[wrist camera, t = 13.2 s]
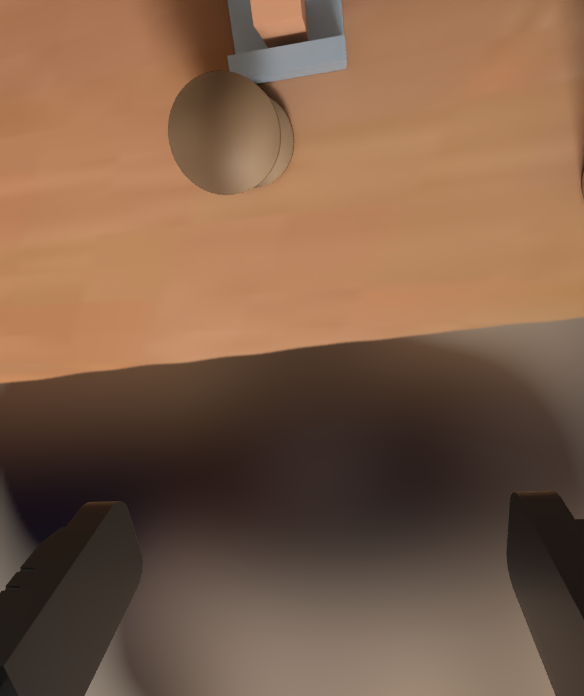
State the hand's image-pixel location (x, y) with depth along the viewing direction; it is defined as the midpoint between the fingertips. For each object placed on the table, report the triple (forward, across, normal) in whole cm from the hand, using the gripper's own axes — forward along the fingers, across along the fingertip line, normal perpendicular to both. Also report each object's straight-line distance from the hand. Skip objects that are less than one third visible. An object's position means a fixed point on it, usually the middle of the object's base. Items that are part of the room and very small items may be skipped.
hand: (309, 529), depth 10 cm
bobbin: (+33, +6, -10) cm, 35 cm away
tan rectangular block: (+32, +2, -18) cm, 36 cm away
